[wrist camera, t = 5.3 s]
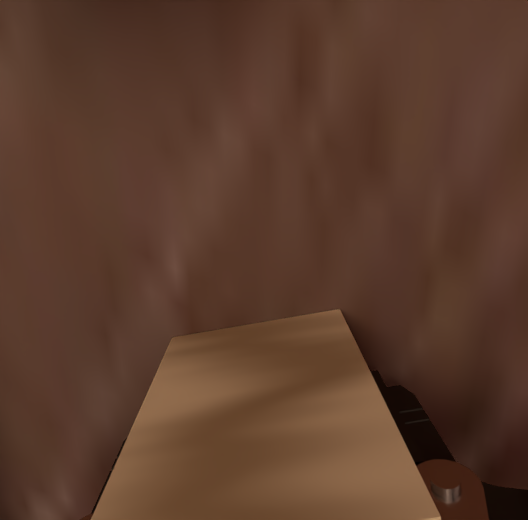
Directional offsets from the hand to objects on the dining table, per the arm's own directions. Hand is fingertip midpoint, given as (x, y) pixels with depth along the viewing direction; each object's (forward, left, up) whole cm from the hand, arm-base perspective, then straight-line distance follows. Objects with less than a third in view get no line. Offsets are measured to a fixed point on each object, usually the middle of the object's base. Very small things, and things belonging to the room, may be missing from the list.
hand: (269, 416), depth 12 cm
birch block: (0, 0, -1) cm, 1 cm away
